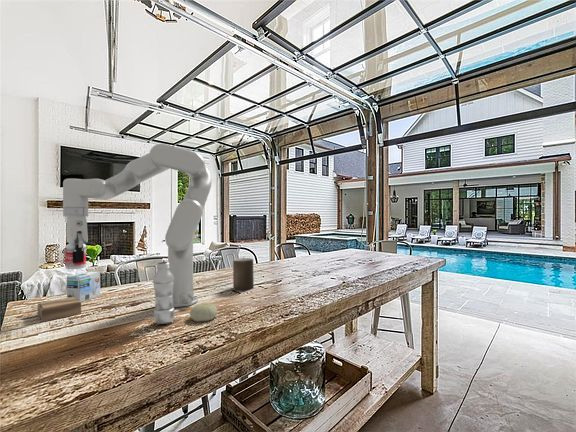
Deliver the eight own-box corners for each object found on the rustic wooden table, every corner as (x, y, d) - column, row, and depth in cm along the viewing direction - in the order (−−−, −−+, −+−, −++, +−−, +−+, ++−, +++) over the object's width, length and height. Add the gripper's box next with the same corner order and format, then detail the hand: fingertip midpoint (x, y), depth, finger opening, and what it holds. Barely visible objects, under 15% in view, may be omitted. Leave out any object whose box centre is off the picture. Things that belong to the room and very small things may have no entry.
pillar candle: (252, 290, 134) (251, 258, 134) (231, 290, 135) (230, 258, 135) (254, 285, 144) (254, 255, 144) (235, 285, 144) (235, 255, 144)
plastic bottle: (162, 328, 92) (160, 265, 92) (149, 323, 95) (148, 263, 95) (179, 321, 97) (178, 262, 97) (166, 317, 101) (165, 260, 101)
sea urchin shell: (223, 308, 104) (214, 297, 99) (215, 330, 99) (205, 319, 93) (202, 306, 107) (192, 295, 102) (193, 327, 102) (181, 316, 96)
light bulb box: (79, 302, 119) (79, 276, 119) (66, 302, 121) (65, 276, 120) (101, 295, 130) (100, 271, 130) (88, 294, 131) (88, 271, 131)
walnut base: (81, 313, 106) (80, 301, 106) (42, 321, 98) (41, 309, 98) (74, 306, 114) (74, 296, 114) (37, 314, 106) (37, 302, 106)
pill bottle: (62, 270, 103) (62, 238, 103) (68, 267, 108) (68, 237, 108) (83, 269, 105) (83, 238, 105) (88, 266, 111) (88, 237, 111)
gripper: (94, 212, 103) (94, 262, 104) (82, 212, 115) (82, 257, 115) (68, 212, 98) (68, 265, 98) (58, 212, 110) (58, 259, 110)
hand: (75, 260), depth 107 cm, fingers closed on pill bottle, 6 cm apart
